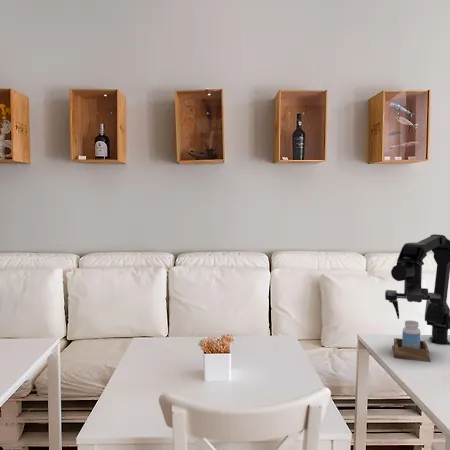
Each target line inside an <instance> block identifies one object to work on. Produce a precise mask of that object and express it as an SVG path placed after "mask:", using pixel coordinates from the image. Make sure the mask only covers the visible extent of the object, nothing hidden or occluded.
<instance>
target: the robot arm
mask: <svg viewBox="0 0 450 450" xmlns="http://www.w3.org/2000/svg"><path fill="white" fill-rule="evenodd" d="M431 251H432V254H433V259H434V262H435V264H436V271H435V272H436V273H435V279H434V280H435V281H434V290H433V292H429V289H428V288H424V287H423V288H422V276H423V275H422V274H423V272H422V270H423V267H422V266H424V265H425V263H424V261H423V260H424V259H425V258H426V257H427V253H429V252H431ZM390 274H391V277H392V279H394V280H395V281H397V282H404V283H403V285H404V286H403V287H404V288H403V289H404V290H403V291H404V292H403V293H401V292H397V291H398V290H392V289H386V290H385V292H384V299H385V301H388V302H389V303H391V304H392V306H393V308H394V311H395V313H396V317H397V319H398V320H399V319H400V311H399V301H398V299H406V301H407V302H409V303H412V302H415V303H422V301H426V302H425V310H424V322H426V325H428V326H431V336H429V340H430V342H431V343H432V344H441V345H442V344H443V345H450V341H449V339H448V336H449V335H448V334H449V330H450V307H449V305H448V303H447V301H448V292H449V291H448V290H449V283H450V239H448V238H447V237H446V236H445V235H444V234H430V236H428V237H426V238H424V239H422V240H419V241H418V242H406V243H404V244H403V245H402V247H401V250H400V252H399V254H398V257H397V260H396V265H393V267H392V268H391V270H390Z"/></svg>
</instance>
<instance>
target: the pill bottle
mask: <svg viewBox="0 0 450 450" xmlns="http://www.w3.org/2000/svg"><path fill="white" fill-rule="evenodd" d="M401 335H402V338H401V339H402V347H404V348H414V349H420V341H421V330H420V328H419V322H418V321H415V320H404V327H403V328H402V334H401Z"/></svg>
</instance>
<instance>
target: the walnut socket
mask: <svg viewBox="0 0 450 450" xmlns="http://www.w3.org/2000/svg"><path fill="white" fill-rule="evenodd" d="M391 348H392V353H393V354H392V355H393V358H394V359H399V360H400V359H401V360H407V361H408V360H410V361H418V362H419V361H420V362H426V363H427V362H429V363H430V362H431V363H432V361H431V356H430V350H429V347H428V344H427V343H426V340H420V349H414V348H404V347H402V338H399V337H398V338H397V337H396V338H395V337H394V338H393V345H392V347H391Z"/></svg>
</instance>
